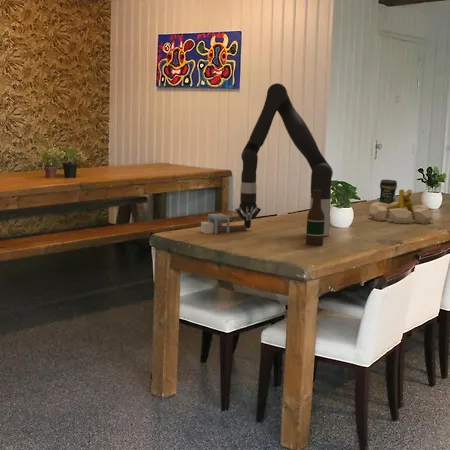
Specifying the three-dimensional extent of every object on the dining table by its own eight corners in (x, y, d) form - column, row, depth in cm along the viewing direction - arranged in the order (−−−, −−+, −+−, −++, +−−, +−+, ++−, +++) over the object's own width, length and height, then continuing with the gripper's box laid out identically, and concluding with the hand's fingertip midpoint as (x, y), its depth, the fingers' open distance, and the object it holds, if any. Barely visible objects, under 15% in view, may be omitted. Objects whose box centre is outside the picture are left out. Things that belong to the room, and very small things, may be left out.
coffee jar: (376, 210, 403) (378, 179, 399) (380, 209, 409) (382, 178, 406) (392, 212, 398) (394, 180, 395) (396, 210, 405) (398, 179, 401)
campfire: (435, 226, 355) (438, 194, 352) (369, 222, 360) (371, 190, 357) (427, 216, 389) (429, 186, 387) (366, 213, 394) (368, 183, 392)
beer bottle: (302, 242, 298) (305, 188, 294) (317, 242, 301) (321, 188, 297) (310, 246, 291) (313, 190, 287) (326, 245, 294) (330, 190, 290)
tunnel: (229, 233, 315) (229, 216, 313) (215, 233, 312) (215, 217, 310) (221, 229, 323) (221, 213, 322) (207, 230, 321) (207, 213, 319)
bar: (246, 231, 321) (246, 226, 321) (212, 232, 314) (213, 227, 314) (244, 230, 323) (244, 225, 323) (210, 231, 317) (211, 226, 316)
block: (213, 233, 314) (213, 223, 313) (204, 233, 312) (204, 223, 311) (209, 231, 318) (210, 221, 317) (200, 231, 316) (201, 222, 315)
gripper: (238, 193, 314) (237, 230, 318) (264, 192, 320) (263, 228, 323) (232, 191, 321) (231, 227, 324) (257, 190, 326) (256, 225, 329)
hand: (247, 227), depth 323 cm, fingers closed
